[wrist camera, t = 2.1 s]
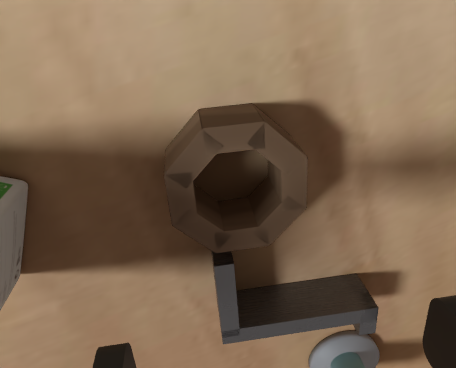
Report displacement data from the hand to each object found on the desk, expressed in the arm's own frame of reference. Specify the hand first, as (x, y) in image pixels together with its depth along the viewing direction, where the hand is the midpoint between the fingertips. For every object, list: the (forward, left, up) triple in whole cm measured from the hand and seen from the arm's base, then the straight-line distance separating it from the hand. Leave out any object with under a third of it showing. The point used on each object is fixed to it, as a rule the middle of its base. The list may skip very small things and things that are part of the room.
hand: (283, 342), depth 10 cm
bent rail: (+7, +3, -11) cm, 14 cm away
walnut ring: (0, 0, -11) cm, 11 cm away
